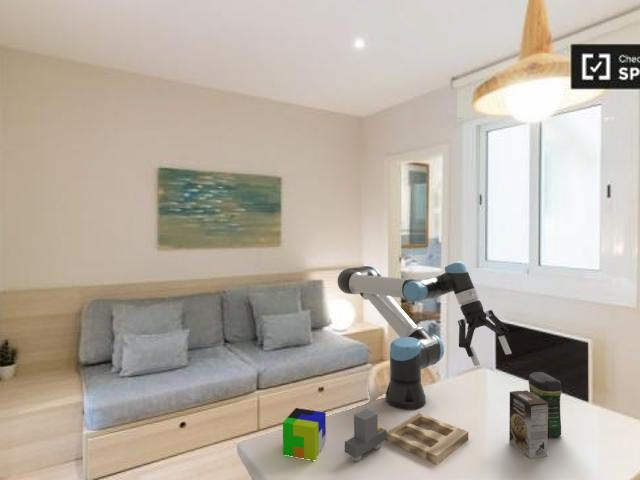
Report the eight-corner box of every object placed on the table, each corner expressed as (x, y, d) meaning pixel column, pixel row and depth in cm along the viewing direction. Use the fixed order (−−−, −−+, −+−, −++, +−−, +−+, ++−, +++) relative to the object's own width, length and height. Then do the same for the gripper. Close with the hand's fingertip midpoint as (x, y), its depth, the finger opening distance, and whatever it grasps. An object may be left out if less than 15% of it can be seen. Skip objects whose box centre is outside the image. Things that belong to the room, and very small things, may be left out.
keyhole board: (385, 440, 125) (385, 432, 125) (418, 419, 138) (418, 412, 138) (436, 464, 112) (436, 455, 112) (468, 439, 125) (468, 431, 125)
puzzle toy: (325, 444, 124) (325, 412, 123) (314, 461, 114) (314, 427, 114) (296, 438, 127) (295, 407, 127) (283, 455, 118) (282, 422, 117)
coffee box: (508, 442, 123) (508, 391, 123) (526, 440, 125) (526, 389, 124) (529, 459, 114) (529, 404, 114) (548, 456, 116) (549, 401, 115)
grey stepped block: (344, 458, 116) (344, 419, 115) (375, 440, 125) (374, 404, 125) (356, 465, 112) (355, 425, 112) (386, 446, 122) (386, 409, 122)
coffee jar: (566, 438, 125) (566, 380, 125) (542, 439, 125) (542, 381, 124) (546, 423, 135) (547, 369, 134) (524, 424, 135) (524, 370, 134)
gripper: (445, 309, 141) (469, 369, 135) (503, 291, 147) (528, 348, 141) (435, 313, 148) (458, 370, 142) (491, 295, 154) (514, 350, 148)
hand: (493, 359), depth 141 cm, fingers open, 13 cm apart
